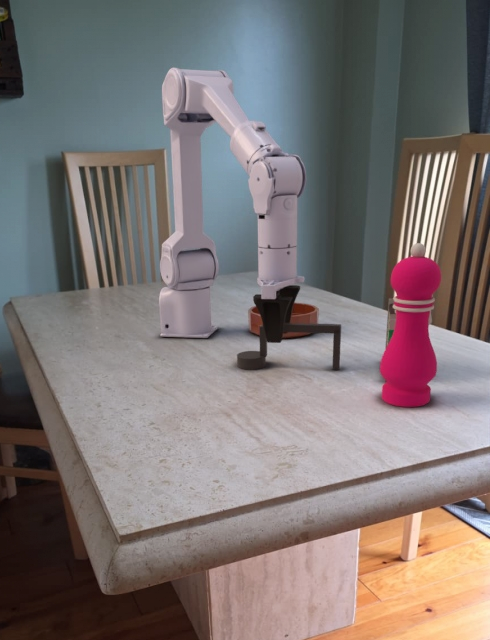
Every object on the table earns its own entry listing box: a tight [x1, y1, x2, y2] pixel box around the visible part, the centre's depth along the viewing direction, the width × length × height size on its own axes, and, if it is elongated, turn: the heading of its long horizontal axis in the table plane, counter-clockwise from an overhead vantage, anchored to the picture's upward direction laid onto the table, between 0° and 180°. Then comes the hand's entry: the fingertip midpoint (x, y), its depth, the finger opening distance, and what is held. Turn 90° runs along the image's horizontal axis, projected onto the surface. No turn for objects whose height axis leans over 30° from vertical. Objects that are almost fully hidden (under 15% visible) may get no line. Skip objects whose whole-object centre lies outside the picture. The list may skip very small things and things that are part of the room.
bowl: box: [247, 302, 319, 339], centre depth 119 cm, size 13×13×4 cm
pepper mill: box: [379, 242, 442, 408], centre depth 79 cm, size 7×7×20 cm
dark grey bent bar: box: [236, 323, 342, 371], centre depth 97 cm, size 16×5×7 cm, turn 76°
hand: (277, 337), depth 97 cm, fingers open, 5 cm apart
